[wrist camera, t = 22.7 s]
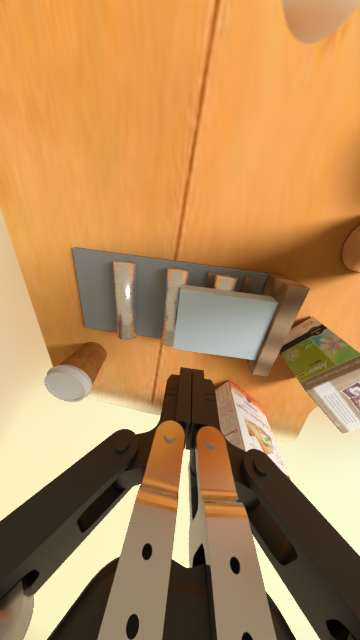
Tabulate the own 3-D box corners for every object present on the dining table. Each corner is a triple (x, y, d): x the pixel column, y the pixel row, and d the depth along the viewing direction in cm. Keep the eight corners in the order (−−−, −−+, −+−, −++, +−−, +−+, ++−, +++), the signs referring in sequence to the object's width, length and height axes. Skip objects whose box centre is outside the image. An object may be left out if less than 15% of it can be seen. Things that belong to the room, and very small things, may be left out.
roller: (222, 348, 39) (211, 354, 37) (208, 339, 42) (197, 345, 39) (241, 278, 32) (230, 280, 29) (223, 273, 34) (211, 274, 32)
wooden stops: (209, 265, 34) (213, 275, 26) (282, 275, 34) (309, 288, 26) (194, 340, 42) (195, 366, 34) (253, 349, 42) (267, 376, 34)
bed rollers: (118, 259, 34) (109, 262, 30) (189, 268, 34) (188, 273, 30) (121, 329, 41) (114, 338, 38) (179, 337, 41) (178, 347, 37)
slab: (181, 284, 31) (180, 289, 28) (271, 296, 31) (278, 302, 28) (174, 340, 36) (173, 348, 34) (250, 350, 36) (255, 360, 33)
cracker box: (262, 403, 51) (301, 503, 32) (245, 412, 53) (273, 510, 34) (229, 378, 47) (252, 474, 29) (213, 389, 49) (224, 484, 31)
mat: (75, 247, 34) (72, 247, 33) (266, 272, 34) (268, 274, 33) (87, 325, 43) (85, 327, 42) (240, 347, 42) (241, 349, 41)
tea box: (269, 340, 41) (305, 392, 28) (312, 314, 37) (376, 360, 24) (300, 376, 45) (343, 436, 32) (341, 357, 41) (409, 416, 28)
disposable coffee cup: (92, 369, 49) (64, 407, 39) (69, 343, 46) (32, 378, 35) (119, 359, 47) (97, 397, 36) (98, 332, 43) (66, 365, 33)
